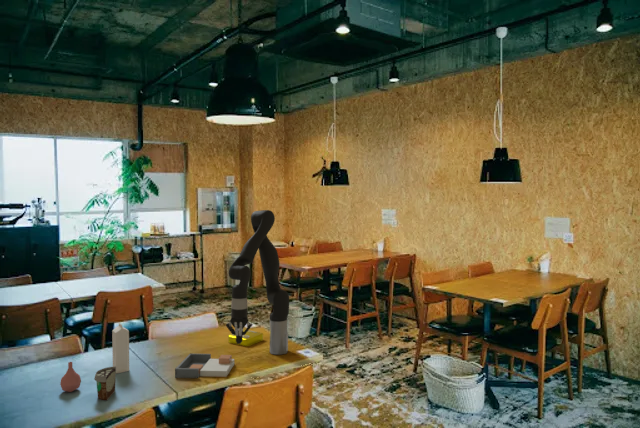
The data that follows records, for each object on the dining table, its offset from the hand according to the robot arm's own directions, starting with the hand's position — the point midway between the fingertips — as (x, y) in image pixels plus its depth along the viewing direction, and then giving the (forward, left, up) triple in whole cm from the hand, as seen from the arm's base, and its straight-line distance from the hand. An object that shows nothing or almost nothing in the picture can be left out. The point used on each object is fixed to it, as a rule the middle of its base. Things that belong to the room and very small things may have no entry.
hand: (239, 343), depth 225 cm
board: (+9, +4, -12) cm, 15 cm away
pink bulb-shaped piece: (+64, +31, -12) cm, 72 cm away
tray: (+21, +4, -12) cm, 24 cm away
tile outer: (+18, +8, -11) cm, 23 cm away
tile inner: (+7, 0, -9) cm, 11 cm away
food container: (+48, +35, -12) cm, 61 cm away
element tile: (+5, -41, -12) cm, 43 cm away
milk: (+54, +7, -12) cm, 56 cm away
